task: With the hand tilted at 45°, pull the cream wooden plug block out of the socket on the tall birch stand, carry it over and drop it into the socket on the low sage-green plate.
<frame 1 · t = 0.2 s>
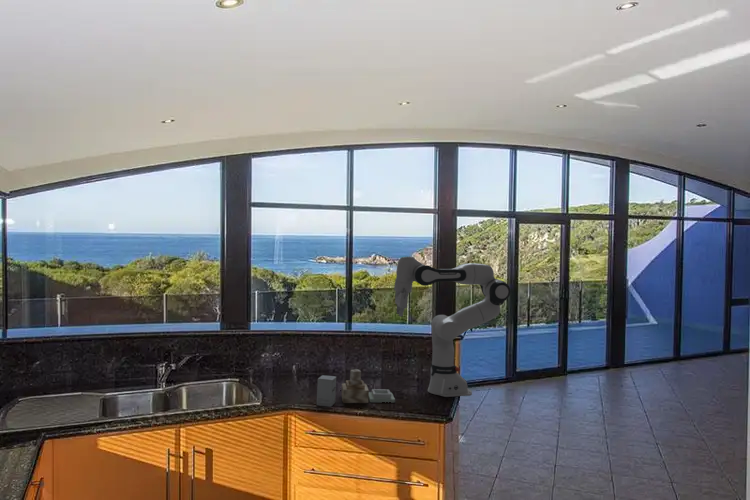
hand: (399, 315, 305), 39 cm above the worktop, tool pointing down, fingers open, 8 cm apart
sage socket plate: (381, 398, 293), on the worktop
birch stand: (354, 399, 291), on the worktop
cream plug block: (355, 386, 290), point 6 cm above the worktop, touching birch stand
supplement box: (326, 404, 281), on the worktop
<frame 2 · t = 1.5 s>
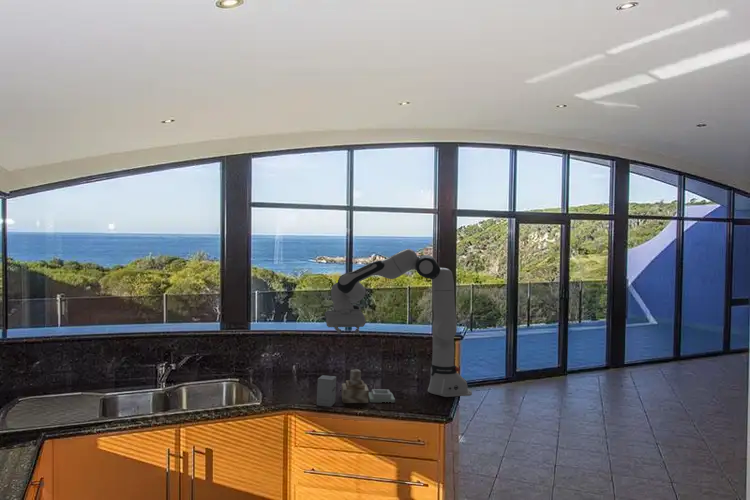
hand: (348, 333, 301), 30 cm above the worktop, tool tilted 45°, fingers open, 8 cm apart
nothing on the worktop moved.
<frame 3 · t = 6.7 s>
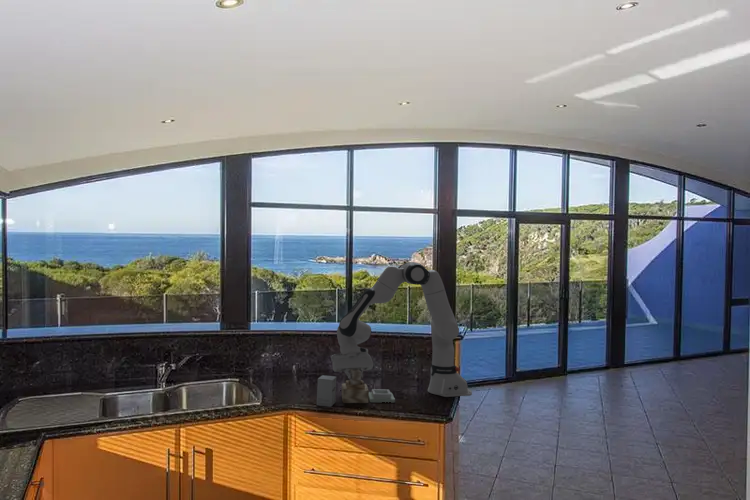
hand: (355, 377, 290), 11 cm above the worktop, tool tilted 45°, fingers closed on cream plug block, 4 cm apart
cream plug block: (355, 386, 290), point 6 cm above the worktop, touching birch stand, gripper
everything else where it was.
when the fingers open (8 cm above the worktop, at t = 14.4 s): cream plug block drops 1 cm, resting on sage socket plate.
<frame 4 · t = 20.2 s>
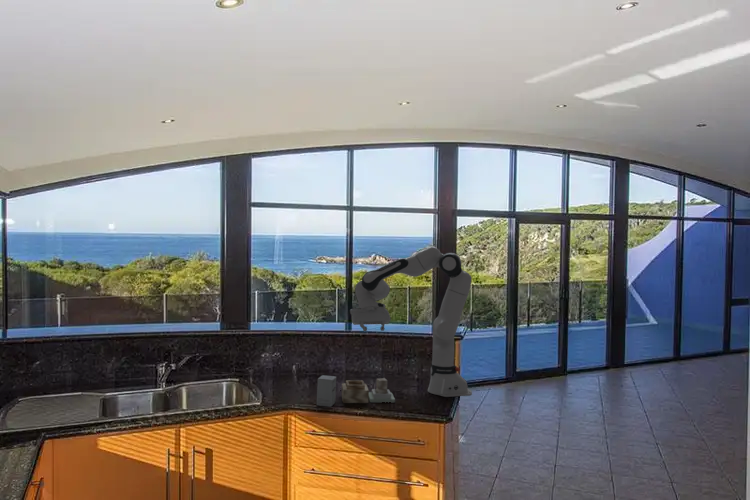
hand: (374, 330, 303), 31 cm above the worktop, tool tilted 45°, fingers open, 8 cm apart
cream plug block: (381, 395, 293), point 1 cm above the worktop, touching sage socket plate
everything else where it was.
at the end: cream plug block 0.1 cm off-centre on the sage socket plate, point 1.5 cm above the sage socket plate's base; cream plug block tilted 0°; the gripper is holding nothing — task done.
